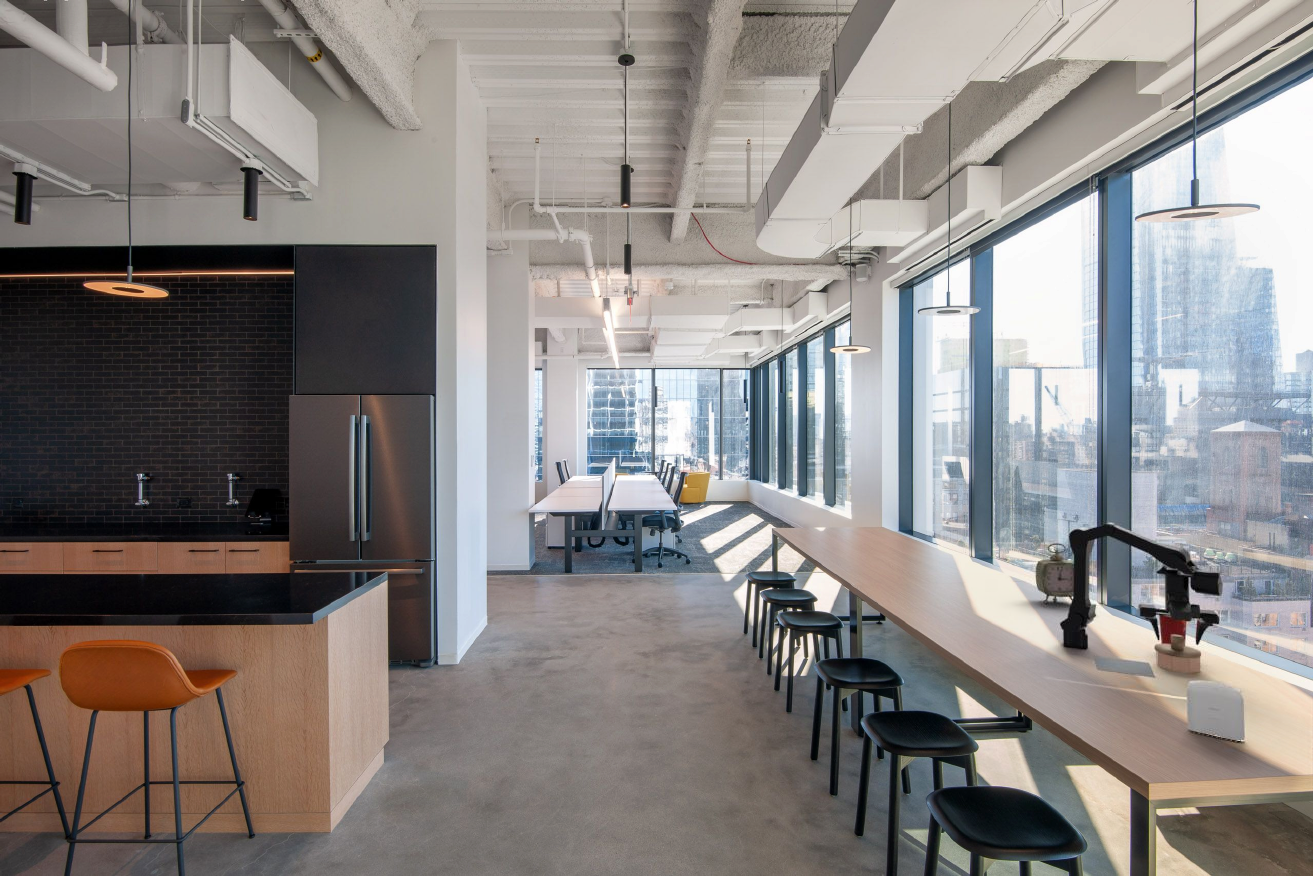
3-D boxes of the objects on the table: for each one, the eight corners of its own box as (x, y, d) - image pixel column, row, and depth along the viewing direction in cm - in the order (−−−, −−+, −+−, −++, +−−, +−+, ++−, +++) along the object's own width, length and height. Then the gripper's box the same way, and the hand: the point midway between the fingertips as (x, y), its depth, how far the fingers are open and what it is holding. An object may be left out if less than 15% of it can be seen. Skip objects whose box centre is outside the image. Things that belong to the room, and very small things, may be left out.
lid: (1157, 654, 197) (1157, 638, 197) (1151, 644, 207) (1151, 628, 207) (1204, 660, 192) (1204, 643, 192) (1196, 649, 201) (1196, 633, 201)
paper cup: (1194, 658, 208) (1193, 613, 208) (1166, 657, 210) (1165, 612, 210) (1179, 650, 216) (1179, 607, 216) (1153, 649, 217) (1152, 606, 217)
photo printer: (1186, 732, 157) (1185, 679, 157) (1188, 726, 160) (1187, 675, 160) (1244, 745, 150) (1243, 690, 150) (1245, 739, 153) (1244, 685, 153)
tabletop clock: (1042, 605, 275) (1042, 544, 275) (1034, 599, 284) (1033, 541, 284) (1080, 606, 273) (1080, 545, 273) (1070, 600, 282) (1070, 541, 282)
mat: (1097, 671, 198) (1097, 669, 198) (1094, 657, 210) (1094, 655, 210) (1155, 679, 191) (1155, 677, 191) (1148, 664, 203) (1148, 662, 203)
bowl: (1159, 671, 198) (1159, 654, 198) (1154, 661, 206) (1154, 644, 206) (1202, 676, 192) (1202, 659, 192) (1195, 666, 201) (1195, 649, 201)
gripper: (1142, 592, 197) (1142, 645, 197) (1223, 599, 188) (1224, 654, 188) (1137, 585, 207) (1138, 635, 207) (1214, 591, 197) (1215, 644, 197)
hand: (1177, 642), depth 199 cm, fingers open, 9 cm apart
